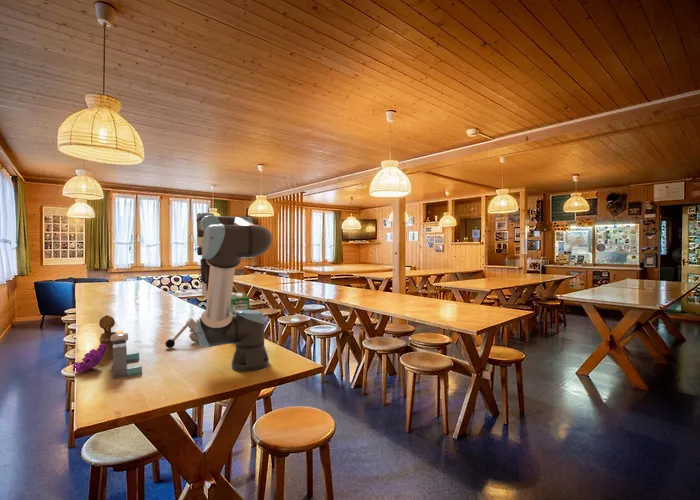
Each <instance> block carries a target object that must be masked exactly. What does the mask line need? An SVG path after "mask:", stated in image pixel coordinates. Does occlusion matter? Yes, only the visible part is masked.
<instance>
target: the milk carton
mask: <svg viewBox="0 0 700 500" xmlns="http://www.w3.org/2000/svg"><path fill="white" fill-rule="evenodd" d="M236 310H250V297H249V296H248V295H247V294H246V293H245V292H243V291H238V292H237V291H236V292H232V295H231V303H230V310H229V311H230V312H231V313H232V315H233V314H235V311H236Z"/></svg>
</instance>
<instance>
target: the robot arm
mask: <svg viewBox="0 0 700 500" xmlns="http://www.w3.org/2000/svg"><path fill="white" fill-rule="evenodd" d="M195 222H196V246H197V248H196V251H197V252H196V254H197V256H202V257H201V259H200V280H201V296H202V297H204V298H206V306H205V310H204V311H202V313H201V315H200V317H197V318H196V319H195V322H196V323H197V331H198V338H199V343H198V344H199V345H200V347H203V348H208V347H209V348H212V347H218V346H222V345H223V346H224V345H230V344H235V350H234V353H233V357H232V360H231V369H232V370H233V371H237V372H254V371H259V370H262V369H265V368H266V367H267V368H268V366H269V365H270V361H269V360H270V359H269V356H268V353H267V352H268V351H267V350H266V347H265V323H266V322H265V315H264V313H263V312H261V311H260V310H255V309H249V310H236V311H235V314H233V315H232V313H231V312H230V311H229V310H230V303H231V295H232V293H233V287H234V286H233V285H234V280H235V271H236V267H238V266H240V264H241V261H242V260H241V259H242V258H244V259H245V258H246V259H248V258H256V257H260V256H262V255H263V254H265V253H266V252H268V251H269V250H270V248H271V246H272V244H273V234H272V233H271V231H270V230H269V229H268V228H267V227H265V226H264V225H261V224H255V223H254V222H253V220H252V218H251V217H249V216H222V215H220V216H219V215H214V213H212V212H198V213H197V214H196V221H195Z"/></svg>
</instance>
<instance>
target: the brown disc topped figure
mask: <svg viewBox="0 0 700 500" xmlns="http://www.w3.org/2000/svg"><path fill="white" fill-rule="evenodd" d="M115 324H116V322H115V319H114V317H113V316H111V315H104V316H103V317H101V318H100V320H99V326H100V328H101V329H103V333H101V334H100V337H99V341H100V343H99V345H101V344H106V351H105V354H104V356H103V358H102V360H101V361H109V360H113V343H112V342H111V335H113V334H116V331H112V328H113V327H114V326H115Z"/></svg>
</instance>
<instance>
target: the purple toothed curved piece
mask: <svg viewBox="0 0 700 500" xmlns="http://www.w3.org/2000/svg"><path fill="white" fill-rule="evenodd" d="M105 351H106V344H101V345H100V344H99V345H98V348H97V349H95V348H91V350H89V352H86V353H85V354H84V357H83V358H82V359H81V360H82V361H80V362H79V361H78V362H77V361H76V362H74V363H73V365H72V372H75V368H76V372H75V373H83V372H88V371H90V370H91V369H94V368H95V367H97V366H98V365H99V364H100V363H101V361H103V360H102V358H103V356H104V354H105ZM75 365H76V366H75Z"/></svg>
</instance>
